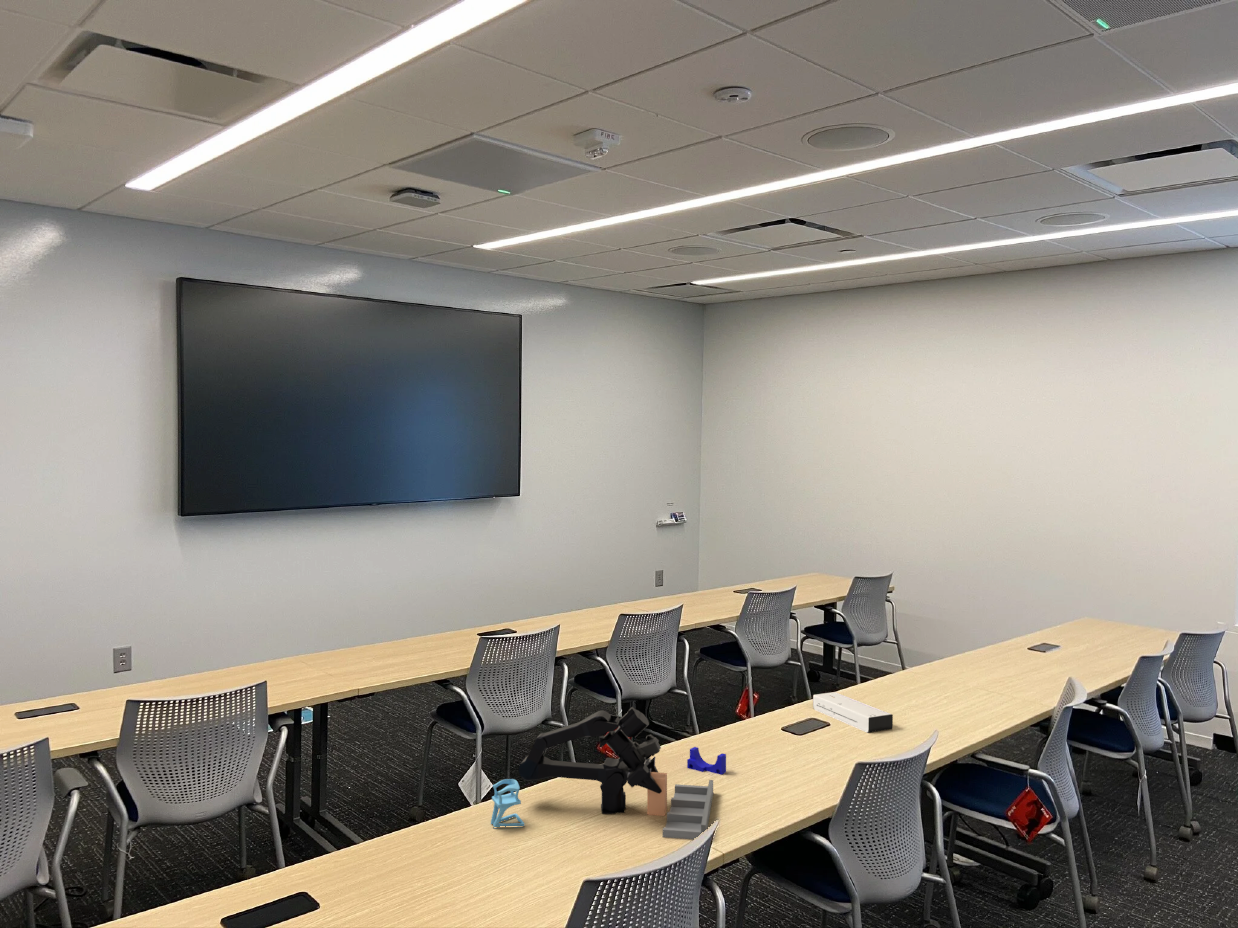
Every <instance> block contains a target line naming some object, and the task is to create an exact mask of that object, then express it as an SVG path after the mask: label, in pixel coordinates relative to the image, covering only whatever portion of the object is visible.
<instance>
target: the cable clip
mask: <svg viewBox="0 0 1238 928" xmlns="http://www.w3.org/2000/svg"><path fill="white" fill-rule="evenodd" d="M686 767H687V768H686V769H690V770H694V771H697V772H701V773H704V772H708V773H709V772H710V773H713V774H716V775H720V776H721V775H723V774H725V773H727V753H720V754H718V755H717V757H716V761H715V763H714V764H712V763H708V762H706V761H705V760H704V759H703V757H702V756H701V754H700V750H699V747H698V746H693V747H691V748H690V749H689V758H687V760H686Z"/></svg>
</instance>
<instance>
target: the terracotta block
mask: <svg viewBox="0 0 1238 928" xmlns="http://www.w3.org/2000/svg"><path fill="white" fill-rule="evenodd" d="M651 776H652V777H653V778H654V780H655V781H656V783H657V784H658V786H659V787H660V788H661V790H662V792H661V793H660V794H659V793H656V792H654V791H651V790H649V789H646V790H647V794H646V796H647V800H646V801H647V802H646V803H647V804H646V806H647V809H646V811H647V812H646V814H647V816H659V817H661V816H663V817H664V816H666V814H667V810H668V800H667V799H668V772H659V771H658V772H651Z"/></svg>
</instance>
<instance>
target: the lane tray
mask: <svg viewBox="0 0 1238 928" xmlns="http://www.w3.org/2000/svg"><path fill="white" fill-rule="evenodd" d="M713 797H714V780H713V779H708V785H694V784H693V785H691V784H674V794H673V797H671V798H670V809H669V811H666V823H665V827H662V838H668V839H669V838H670V839H680V840H681V839H684V840H693V839H694V838H696V837H698V836H699V835H700V834H701V833H702V832H704V831H705V830H706V829H707V828H708V827H709V821H710V815H711V810H712V804H713ZM707 830H708V829H707Z"/></svg>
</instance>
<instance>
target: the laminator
mask: <svg viewBox="0 0 1238 928" xmlns="http://www.w3.org/2000/svg"><path fill="white" fill-rule="evenodd" d="M812 709H813V710H814V711H816V712H818V713H821V714H822V715H825V716H828V717H830V718H833V719H834V720H837V721H840V722H842V723H844V724H846V725H848V726H850V727H853V728H856V729H857V730H860V731H862V732H865V733H867V734H869V733H874V732H875V733H876V732H882V731H887V730H892V729H893V725H894V724H893V719H894V718H893V717H894V714H892V713H890V712H887V711H885V710H882V709H879V708H877V707H874V706H871V705H869V704H866V703H864V702H862V701H859V700H856V699H853V698H851V697H849V696H847V695H844V694H841V693H839V692H835V691H833V692H831V691H830V692H825V693H817V694H813V695H812Z"/></svg>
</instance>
